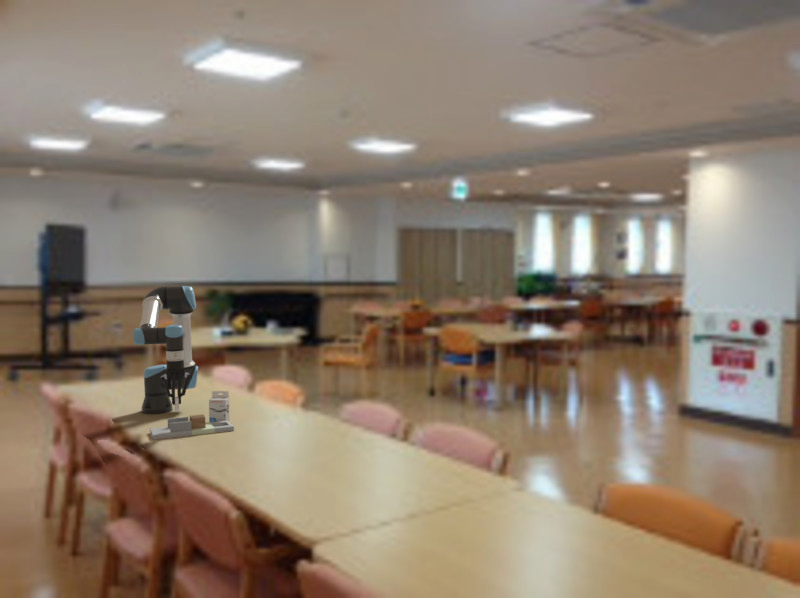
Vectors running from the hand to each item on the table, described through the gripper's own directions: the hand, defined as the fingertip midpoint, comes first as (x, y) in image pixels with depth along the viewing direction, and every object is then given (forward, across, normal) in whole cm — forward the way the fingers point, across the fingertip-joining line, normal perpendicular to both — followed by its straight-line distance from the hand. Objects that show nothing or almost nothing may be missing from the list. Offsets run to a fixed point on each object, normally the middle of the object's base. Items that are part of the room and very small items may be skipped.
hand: (176, 411), depth 325 cm
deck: (+10, +6, -1) cm, 12 cm away
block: (+8, +9, -1) cm, 12 cm away
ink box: (+11, +21, +12) cm, 26 cm away
